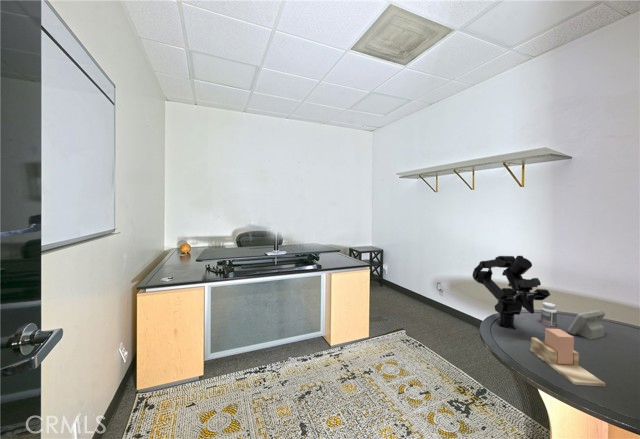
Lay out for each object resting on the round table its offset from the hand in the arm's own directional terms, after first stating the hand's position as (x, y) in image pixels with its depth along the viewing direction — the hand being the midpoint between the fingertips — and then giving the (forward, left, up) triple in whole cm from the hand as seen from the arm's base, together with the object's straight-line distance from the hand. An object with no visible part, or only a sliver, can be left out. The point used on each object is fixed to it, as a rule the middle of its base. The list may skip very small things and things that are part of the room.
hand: (532, 313), depth 104 cm
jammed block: (+12, +5, -12) cm, 17 cm away
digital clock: (-23, +23, -13) cm, 35 cm away
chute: (+14, +7, -13) cm, 20 cm away
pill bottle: (-26, +11, -13) cm, 32 cm away
